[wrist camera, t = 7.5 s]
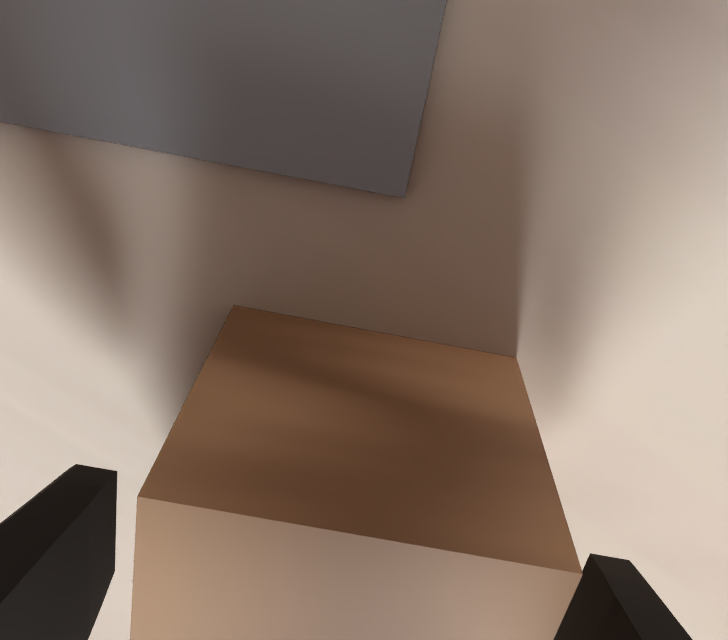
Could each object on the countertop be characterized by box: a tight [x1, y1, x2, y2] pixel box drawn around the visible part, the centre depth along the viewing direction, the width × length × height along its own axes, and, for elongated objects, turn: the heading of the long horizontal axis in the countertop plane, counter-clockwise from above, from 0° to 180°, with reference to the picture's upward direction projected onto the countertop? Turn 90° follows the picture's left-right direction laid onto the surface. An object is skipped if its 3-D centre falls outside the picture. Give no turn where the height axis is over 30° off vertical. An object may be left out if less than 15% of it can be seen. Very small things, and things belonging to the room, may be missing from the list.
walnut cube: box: [130, 305, 583, 640], centre depth 11 cm, size 5×5×5 cm
